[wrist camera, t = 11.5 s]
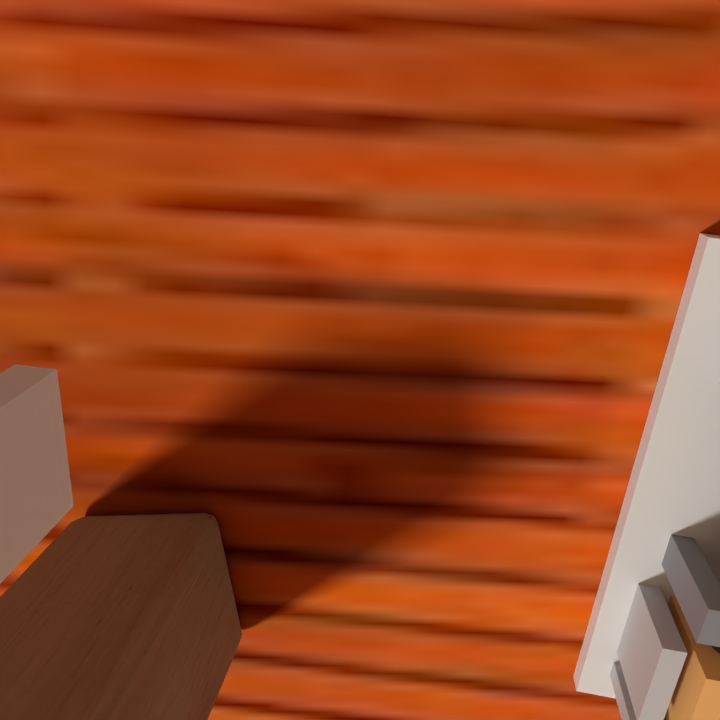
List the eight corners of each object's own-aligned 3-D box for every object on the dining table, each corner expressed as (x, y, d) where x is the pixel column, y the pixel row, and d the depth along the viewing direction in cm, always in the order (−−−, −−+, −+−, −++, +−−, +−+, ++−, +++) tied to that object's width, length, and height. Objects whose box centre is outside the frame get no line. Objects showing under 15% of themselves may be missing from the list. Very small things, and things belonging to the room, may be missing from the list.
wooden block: (248, 635, 45) (100, 1002, 27) (110, 634, 47) (-120, 979, 28) (220, 505, 42) (29, 820, 23) (74, 510, 44) (-214, 806, 25)
